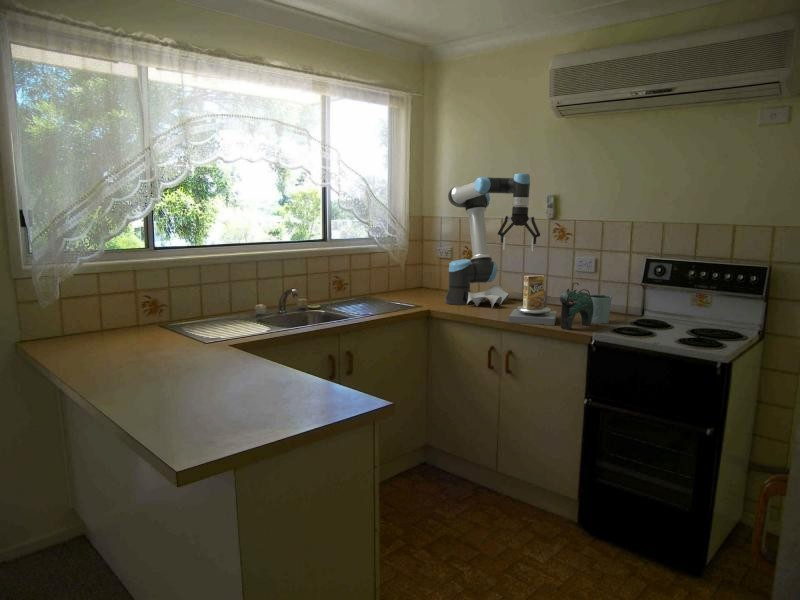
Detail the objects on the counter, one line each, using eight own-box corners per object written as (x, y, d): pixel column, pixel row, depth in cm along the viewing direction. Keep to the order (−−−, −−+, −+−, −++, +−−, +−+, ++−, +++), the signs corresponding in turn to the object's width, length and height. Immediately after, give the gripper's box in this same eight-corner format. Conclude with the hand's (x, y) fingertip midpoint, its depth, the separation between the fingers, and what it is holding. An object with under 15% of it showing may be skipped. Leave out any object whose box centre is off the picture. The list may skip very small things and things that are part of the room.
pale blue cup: (613, 321, 268) (615, 296, 266) (604, 324, 260) (606, 298, 258) (592, 318, 275) (594, 293, 273) (583, 321, 267) (584, 296, 265)
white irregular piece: (498, 310, 298) (498, 291, 296) (463, 307, 306) (463, 288, 305) (511, 303, 320) (512, 285, 319) (478, 300, 328) (479, 283, 327)
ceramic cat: (566, 331, 247) (569, 284, 244) (554, 328, 252) (556, 282, 249) (595, 325, 259) (598, 281, 255) (583, 323, 264) (585, 279, 261)
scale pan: (515, 314, 265) (515, 310, 265) (518, 309, 279) (519, 304, 279) (549, 317, 261) (549, 312, 260) (551, 311, 275) (551, 306, 275)
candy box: (527, 309, 266) (528, 276, 264) (522, 308, 270) (523, 275, 268) (543, 308, 269) (545, 275, 267) (539, 307, 273) (540, 274, 271)
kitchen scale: (508, 322, 264) (509, 294, 262) (514, 314, 283) (515, 288, 281) (554, 325, 258) (555, 296, 256) (556, 317, 277) (557, 290, 275)
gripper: (493, 205, 279) (491, 249, 283) (546, 207, 272) (543, 252, 276) (495, 205, 286) (493, 248, 290) (547, 206, 279) (544, 250, 283)
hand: (517, 250), depth 283 cm, fingers open, 13 cm apart
